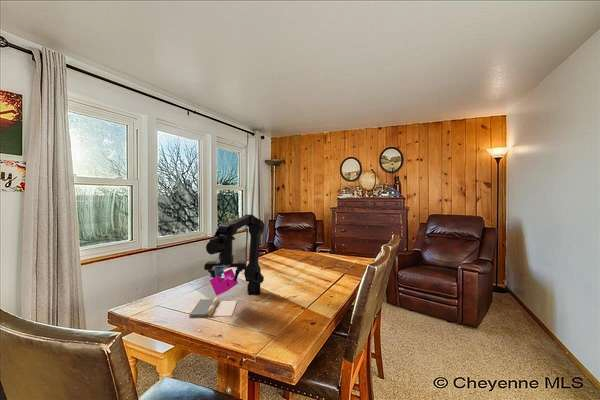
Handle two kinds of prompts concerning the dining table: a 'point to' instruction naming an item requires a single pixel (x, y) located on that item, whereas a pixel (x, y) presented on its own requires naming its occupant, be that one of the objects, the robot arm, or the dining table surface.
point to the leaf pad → (225, 308)
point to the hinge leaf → (204, 307)
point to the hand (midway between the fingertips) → (225, 283)
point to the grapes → (218, 270)
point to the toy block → (224, 282)
